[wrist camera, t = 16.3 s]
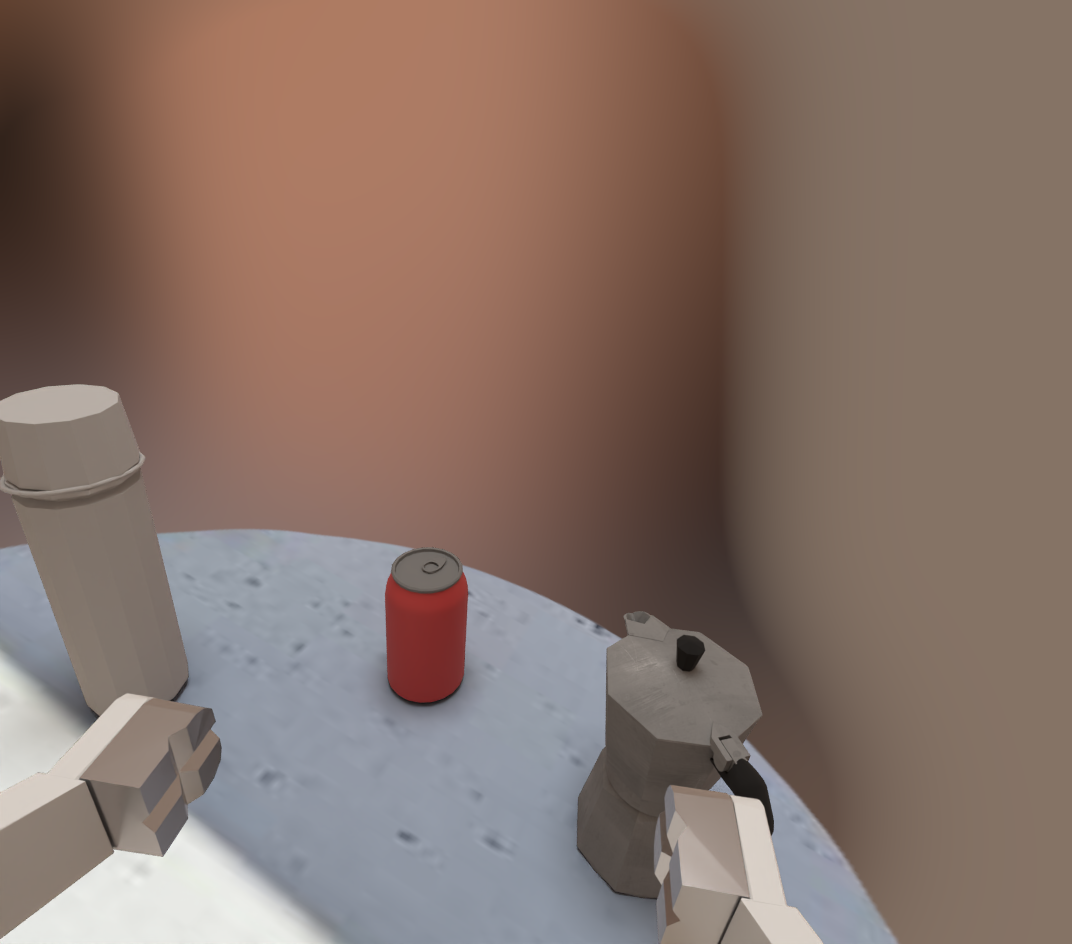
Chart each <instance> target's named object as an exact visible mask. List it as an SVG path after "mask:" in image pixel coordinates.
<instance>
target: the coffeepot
mask: <svg viewBox="0 0 1072 944" xmlns="http://www.w3.org/2000/svg"><path fill="white" fill-rule="evenodd" d="M624 619H625V624H626V629H627V634H628V636H627V637H625V638H623V639H622V640H620V641H618V642H617V643H615V644H613V645H612V646H610V647H608V648H607V667H606V733H605V742H606V747H605V748H604V749H603V750H602V751H601V753H600V755H599V757H598V759H597V761H596V763H595V765H594V767H593V769H592V771H591V773H590V775H589V777H588V779H587V781H586V783H585V785H584V787H583V789H582V791H581V793H580V795H579V797H578V819H577V827H578V828H577V847H578V848H579V850H580V851H581V852H582V854H583V855H584V856H585V858H586V859H587V860H588V862H589V863H590V865H591V866H592V867H593V869H594V870H595V871H596V872H597V873H598V874H599V875H600V876H601V877H602V878H603V879H604V880H605V881H606V882H607V883H608V884H609V885H610V886H611V887H612V888H613V890H614V891H616V892H620V893H624V894H628V895H632V896H636V897H640V898H658V896H659V892H660V889H661V886H662V885H661V883H660V882H659V880H658V878H657V877H656V875H655V871H654V840H655V832H656V825H657V821H658V817H659V814H660V813H662V812H663V811H665V799H664V797H665V794H666V791H667V788H668V787H669V786H670V785H675V786H682V787H688V788H695V789H702V790H709V789H710V788H711V787H712V786H713V785H714V784H715V783H716V782H717V781H718V780H719V779H720V777H721V778H722V779H723V780H724V781H725V783H726V784H727V785H728V787H729V788H730V789H731V791H732V792H733V793H734V795H735V796H740V797H747V798H754V799H758V800H760V801H761V803H762V804H763V806H764V808H765V813H766V817H767V821H768V826H769V830H770V834H771V836H772V833H773V831H774V820H773V814H772V809H771V804H770V799H769V795H768V790H767V786H766V784H765V782H764V780H763V778H762V777H761V776H760V775H759V773H758V772H757V771H756V770H755V769H754V768H753V766H752V765H751V764H750V763H749V762H748V760H749V758H750V754H749V753H748V751H747V750H746V748H745V747H744V745H743V743H744V741H745V740H746V738H747V736H748V735H749V733H750V732H751V730H752V729H753V727H754V726H755V724H756V723H757V721H758V720H759V719H760V718H761V717H762V711H761V708H760V705H759V701H758V698H757V695H756V692H755V688H754V685H753V681H752V678H751V675H750V671H749V668H748V666H746V665H745V664H744V663H742V662H741V661H739V660H738V659H737V658H735V657H734V656H732V655H731V654H730V653H728V652H727V651H725V650H724V649H723V648H721V647H720V646H718V645H717V644H715V643H714V642H713V641H711V640H710V639H708V638H707V637H706V636H704V635H703V634H702V633H700V632H692V631H684V630H677V629H670V628H669V627H668V626H666V625H665V624H663V623H662V622H661V621H660V620H658V619H657V618H655V617H654V616H653V615H652V616H650V615H649V614H648V613H647V612H642V611H640V612H634V613H627V614H625V615H624Z"/></svg>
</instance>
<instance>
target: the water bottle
mask: <svg viewBox="0 0 1072 944" xmlns="http://www.w3.org/2000/svg"><path fill="white" fill-rule="evenodd" d="M0 459H1V463H2V468H3V473H4V475H3V476H2V477H1V479H0V489H1V491H3V492H6V493H9V494H12V497H11V498H12V501H13V504H14V506H15V509H16V512H17V514H18V517H19V520H20V523H21V525H22V528H23V531H24V533H25V536H26V539H27V542H28V545H29V547H30V550H31V553H32V556H33V558H34V561H35V564H36V567H37V569H38V572H39V575H40V578H41V580H42V583H43V586H44V589H45V591H46V594H47V597H48V599H49V602H50V605H51V608H52V610H53V613H54V616H55V619H56V621H57V624H58V627H59V630H60V632H61V635H62V638H63V641H64V643H65V646H66V649H67V651H68V654H69V657H70V660H71V662H72V665H73V668H74V671H75V673H76V676H77V679H78V682H79V684H80V687H81V690H82V693H83V695H84V698H85V701H86V704H87V705H88V706H89V707H90V708H91V709H92V710H93V711H95V712H96V713H97V714H98V715H99V716H101V715H102V714H103V713H104V712H105V711H106V710H107V709H108V707H109V706H110V705H111V704H112V703H113V702H114V701H115V700H116V699H118V698H120V697H121V696H123V695H125V694H127V693H129V694H135V695H141V696H147V697H153V698H157V699H162V700H168V701H170V700H172V699H173V698H174V697H175V696H176V694H177V693H178V692H179V690H180V689H181V687H182V686H183V684H184V683H185V681H186V680H187V678H188V663H187V658H186V654H185V650H184V645H183V641H182V637H181V633H180V629H179V625H178V621H177V617H176V612H175V608H174V604H173V600H172V596H171V592H170V588H169V583H168V579H167V575H166V571H165V567H164V563H163V559H162V555H161V550H160V546H159V542H158V538H157V534H156V530H155V526H154V522H153V517H152V513H151V509H150V505H149V501H148V497H147V493H146V489H145V484H144V480H143V476H142V472H141V468H140V467H141V466H142V465H143V463H144V460H145V456H144V455H142V454H141V453H140V452H139V448H138V445H137V442H136V440H135V437H134V434H133V432H132V429H131V426H130V423H129V421H128V418H127V415H126V413H125V410H124V407H123V405H122V402H121V399H120V396H119V394H118V393H117V392H114V391H112V390H110V389H108V388H106V387H101V386H90V385H66V386H65V385H64V386H50V387H44V388H40V389H35V390H30V391H26V392H22V393H17V394H15V395H13V396H11V397H8V398H6V399H4V400H2V401H0Z"/></svg>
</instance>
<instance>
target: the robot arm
mask: <svg viewBox="0 0 1072 944" xmlns="http://www.w3.org/2000/svg"><path fill="white" fill-rule="evenodd" d="M215 722H216V721H215V717H214V714H213V710H212V709H211V708H206V707H200V706H195V705H189V704H184V703H179V702H173V701H168V700H162V699H157V698H153V697H147V696H141V695H135V694H129V693H127V694H125V695H123V696H121V697H120V698H118V699H116V700H115V701H114V702H113V703H112V704H111V705H110V706H109V707H108V709H107V710H106V711H105V712H104V713H103V714H102V715H101V716H100V717H99V718H98V719H97V720H96V721H95V722H94V724H93V725H92V726H91V727H90V728H89V729H88V730H87V731H86V732H85V733H84V734H83V735H82V736H81V738H80V739H79V740H78V741H77V742H76V743H75V744H74V745H73V746H72V747H71V748H70V749H69V750H68V751H67V753H66V754H65V755H64V756H63V757H62V758H61V759H60V760H59V761H58V762H57V763H56V764H55V765H54V767H53V768H52V769H51V770H50V771H49V772H48V773H47V774H46V773H39V772H38V773H37V774H35V775H33V776H31V777H29V778H27V779H25V780H23V781H21V782H19V783H18V784H16V785H14V786H12V787H10V788H8V789H6V790H4V791H2V792H0V939H1V938H2V937H4V936H5V935H6V934H8V933H9V932H10V931H12V930H13V929H14V928H16V927H17V926H18V925H19V924H21V923H22V922H23V921H25V920H26V919H27V918H29V917H30V916H31V915H33V914H34V913H35V912H37V911H38V910H39V909H41V908H42V907H43V906H44V905H46V904H47V903H48V902H50V901H51V900H52V899H54V898H55V897H56V896H58V895H59V894H60V893H62V892H63V891H64V890H66V889H67V888H68V887H70V886H71V885H72V884H73V883H75V882H76V881H77V880H79V879H80V878H81V877H83V876H84V875H85V874H87V873H88V872H89V871H91V870H92V869H93V868H95V867H96V866H97V865H98V864H100V863H101V862H102V861H104V860H105V859H106V858H108V857H109V856H110V855H112V854H113V853H114V850H121V851H128V852H134V853H141V854H147V855H154V856H160V857H163V856H164V855H165V853H166V852H167V850H168V848H169V847H170V845H171V844H172V842H173V841H174V839H175V838H176V836H177V835H178V833H179V832H180V830H181V829H182V827H183V826H184V824H185V823H186V821H187V819H188V804H189V803H191V802H192V801H194V800H195V799H197V798H198V797H200V796H202V795H203V794H204V793H205V792H206V790H207V788H208V787H209V785H210V784H211V782H212V780H213V779H214V777H215V774H216V771H217V769H218V766H219V763H220V760H221V749H222V747H221V743H220V738H219V737H218V736H217V735H216V734H215V733H214V732H213V731H212V730H211V727H212V726H213V725H214V723H215ZM664 799H665V811H663V812H662V813H660V814H659V817H658V821H657V825H656V832H655V840H654V871H655V875H656V877H657V878H658V880H659V882H660V883H661V885H662V886H661V889H660V892H659V896H658V899H657V902H656V910H657V927H658V944H823V942H822V941H821V940H820V938H819V937H818V936H817V934H816V933H815V932H814V930H813V929H812V928H811V926H810V925H809V924H808V922H807V921H806V920H805V918H804V917H803V916H802V914H801V913H800V912H799V910H798V909H797V908H795V907H790V906H787V903H786V899H785V895H784V890H783V886H782V882H781V877H780V873H779V869H778V865H777V860H776V856H775V852H774V847H773V843H772V839H771V834H770V830H769V826H768V821H767V817H766V813H765V808H764V806H763V804H762V803H761V801H760V800H758V799H754V798H747V797H740V796H733V795H728V794H727V793H721V792H715V791H708V790H702V789H695V788H688V787H682V786H675V785H670V786H669V787H668V788H667V791H666V794H665V797H664ZM113 849H114V850H113Z"/></svg>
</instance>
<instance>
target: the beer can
mask: <svg viewBox="0 0 1072 944" xmlns="http://www.w3.org/2000/svg"><path fill="white" fill-rule="evenodd" d="M467 603H468V585H467V581H466V577H465V575H464V573H463V568H462V563H461V562H460V560H459V558H457V557H456V556H455V555H454V554H452V553H450V552H448V551H446V550H443V549H438V548H418V549H413V550H410V551H408V552H405V553H403V554H402V555H401V556H399V557H398V558H397V559H396V560H395V561H394V563H393V564H392V569H391V574H390V576H389V578H388V581H387V585H386V591H385V608H386V640H387V672H388V680H389V683H390V686H391V687H392V688H393V690H394V691H395V692H396V693H397V694H398V695H399V696H401V697H403V698H405V699H407V700H409V701H414V702H418V703H426V702H434V701H437V700H440V699H443V698H445V697H447V696H448V695H450V694H451V693H453V692H454V691H455V689H456V688H457V687H458V686H459V685H460V683H461V681H462V678H463V676H464V662H465V642H466V623H467Z"/></svg>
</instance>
